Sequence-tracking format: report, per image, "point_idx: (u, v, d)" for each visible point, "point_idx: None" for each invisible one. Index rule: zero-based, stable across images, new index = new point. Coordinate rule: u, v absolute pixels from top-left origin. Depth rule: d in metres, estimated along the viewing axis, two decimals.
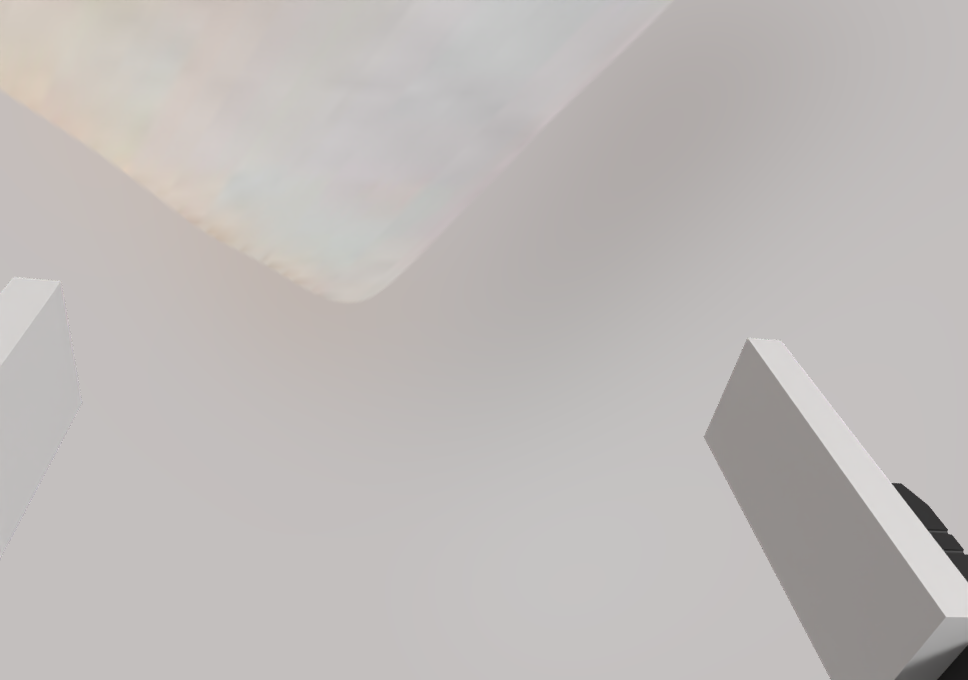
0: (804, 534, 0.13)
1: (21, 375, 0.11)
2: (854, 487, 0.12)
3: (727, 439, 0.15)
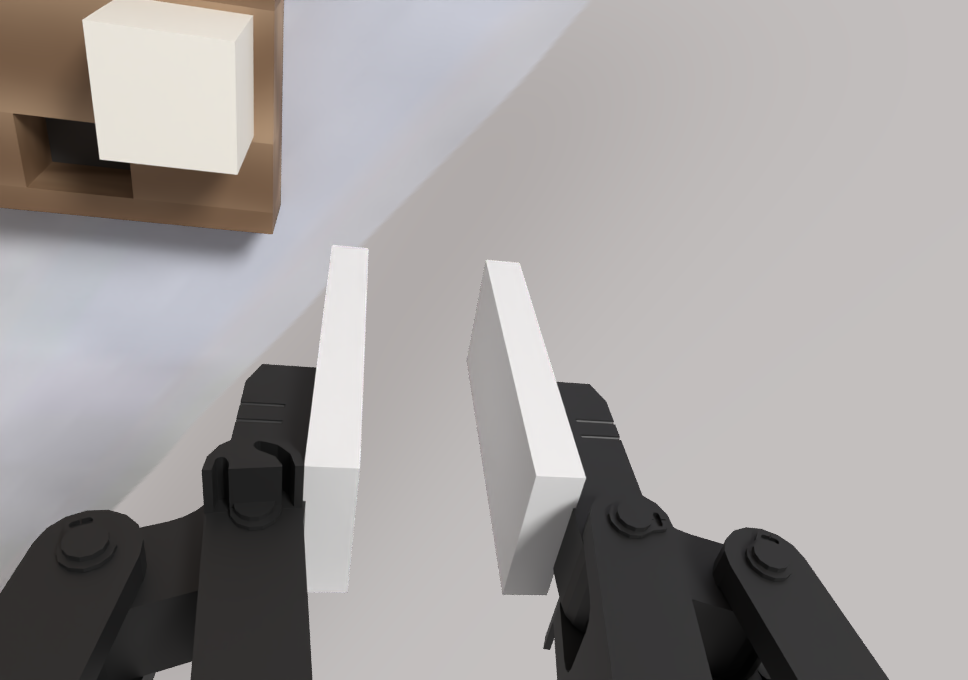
0: (495, 430, 0.14)
1: None
2: (513, 377, 0.13)
3: (474, 358, 0.16)
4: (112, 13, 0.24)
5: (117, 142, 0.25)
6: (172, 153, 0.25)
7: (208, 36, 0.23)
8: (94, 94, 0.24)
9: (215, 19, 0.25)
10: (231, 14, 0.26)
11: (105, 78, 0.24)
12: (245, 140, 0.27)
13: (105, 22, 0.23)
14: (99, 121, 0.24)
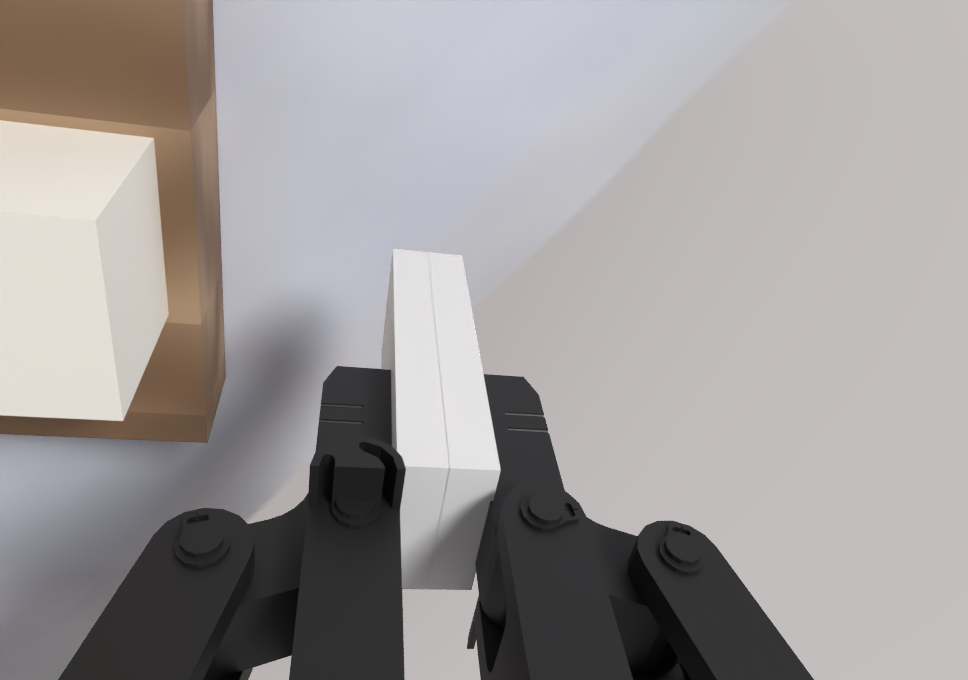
0: None
1: None
2: (440, 369, 0.12)
3: None
4: None
5: None
6: (2, 396, 0.14)
7: (45, 211, 0.12)
8: None
9: (78, 157, 0.14)
10: (113, 140, 0.15)
11: None
12: (144, 344, 0.16)
13: None
14: None
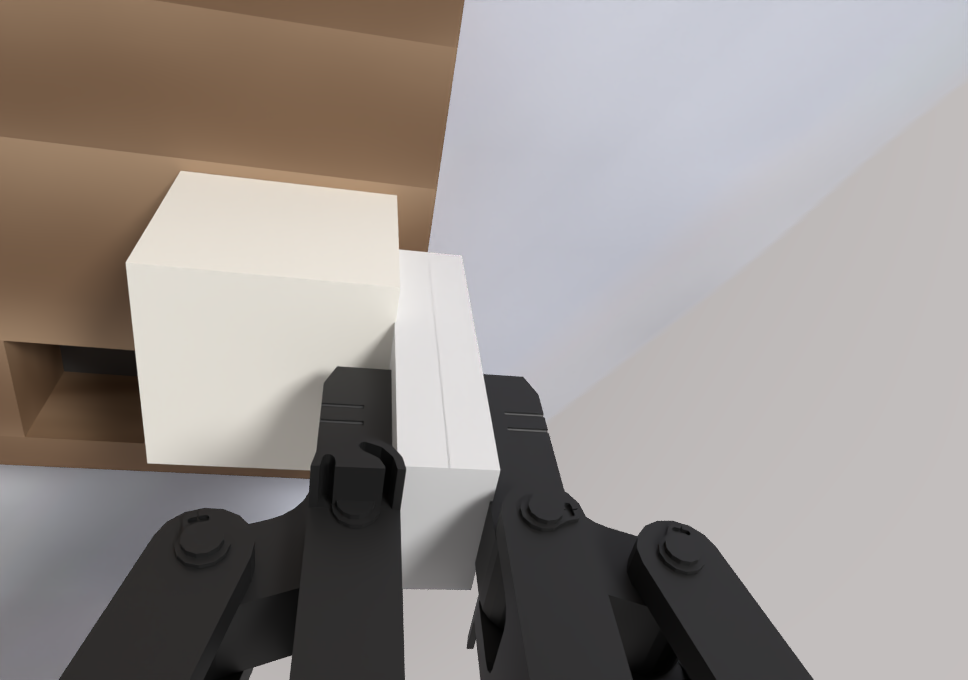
0: None
1: None
2: (439, 369, 0.12)
3: None
4: (176, 230, 0.13)
5: (179, 439, 0.14)
6: (271, 450, 0.15)
7: (352, 278, 0.13)
8: (142, 374, 0.13)
9: (345, 218, 0.15)
10: (364, 198, 0.16)
11: (163, 349, 0.13)
12: None
13: (168, 264, 0.12)
14: (149, 411, 0.14)
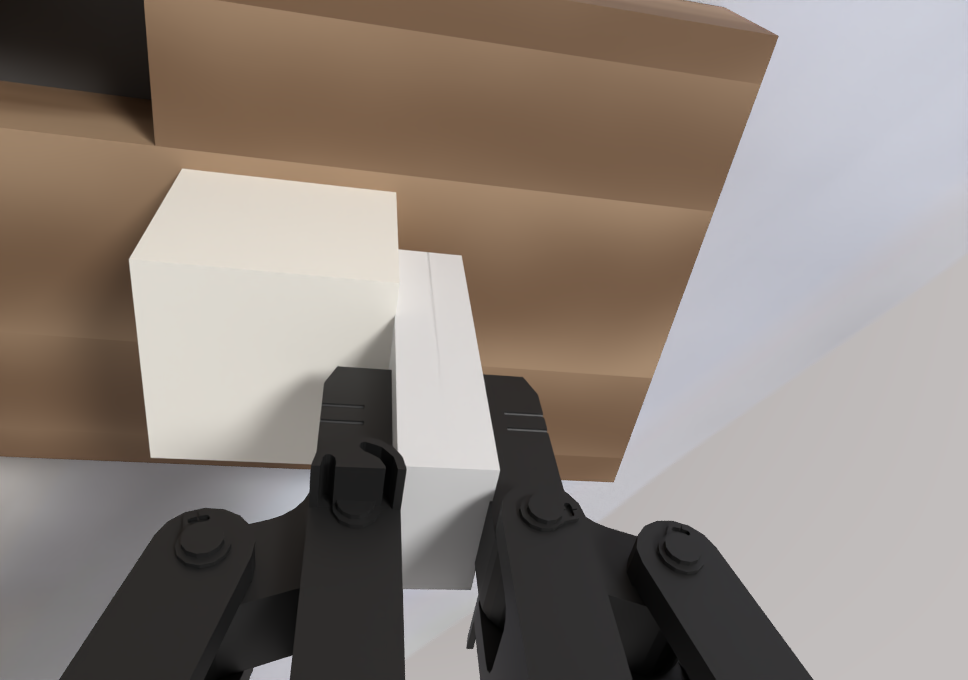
0: None
1: None
2: (439, 369, 0.12)
3: None
4: (178, 227, 0.13)
5: (182, 433, 0.14)
6: (273, 444, 0.15)
7: (352, 274, 0.13)
8: (146, 369, 0.14)
9: (345, 215, 0.15)
10: (364, 195, 0.16)
11: (166, 345, 0.13)
12: None
13: (170, 260, 0.12)
14: (152, 406, 0.14)
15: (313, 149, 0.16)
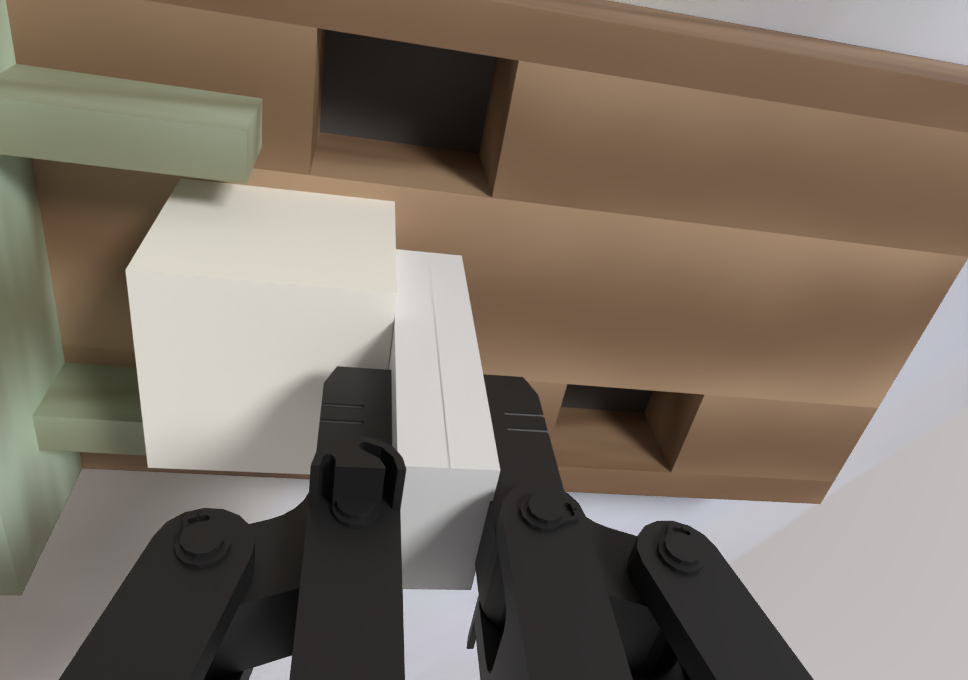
0: None
1: None
2: (439, 369, 0.12)
3: None
4: (175, 238, 0.13)
5: (179, 443, 0.14)
6: (271, 455, 0.15)
7: (349, 284, 0.13)
8: (143, 379, 0.13)
9: (343, 224, 0.15)
10: (362, 205, 0.16)
11: (163, 355, 0.13)
12: None
13: (167, 271, 0.12)
14: (150, 417, 0.14)
15: (629, 201, 0.17)
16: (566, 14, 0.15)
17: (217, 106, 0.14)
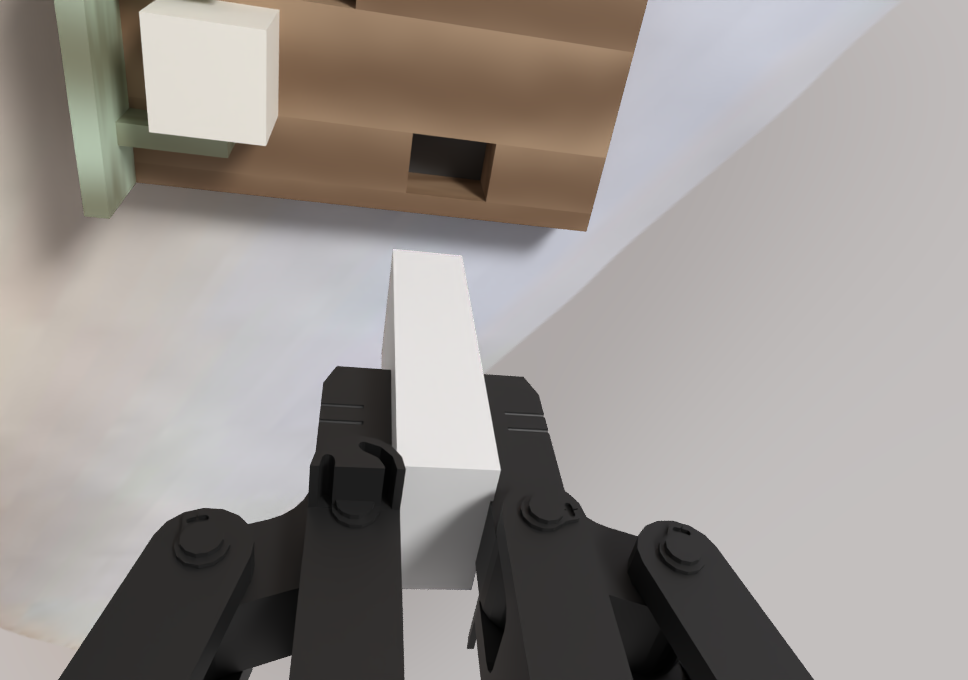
0: None
1: None
2: (439, 369, 0.12)
3: None
4: (162, 6, 0.28)
5: (164, 117, 0.29)
6: (210, 127, 0.29)
7: (244, 25, 0.28)
8: (146, 75, 0.28)
9: (248, 12, 0.30)
10: (261, 8, 0.31)
11: (156, 61, 0.28)
12: (272, 117, 0.31)
13: (158, 14, 0.27)
14: (150, 98, 0.29)
15: (431, 12, 0.32)
16: None
17: None
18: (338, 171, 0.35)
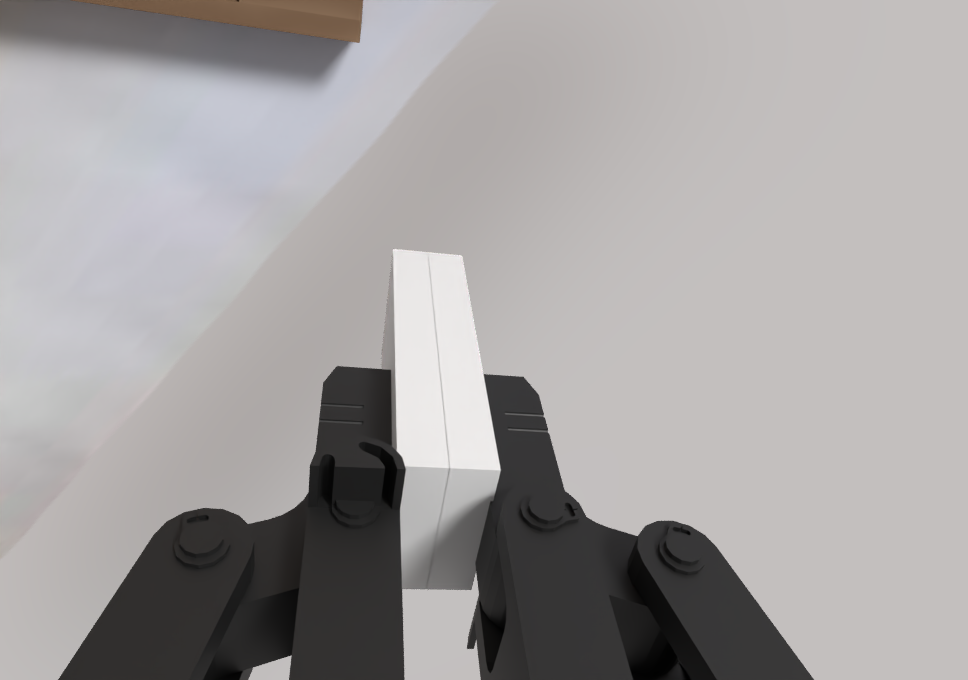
0: None
1: None
2: (439, 369, 0.12)
3: None
4: None
5: None
6: None
7: None
8: None
9: None
10: None
11: None
12: None
13: None
14: None
15: None
16: None
17: None
18: None
